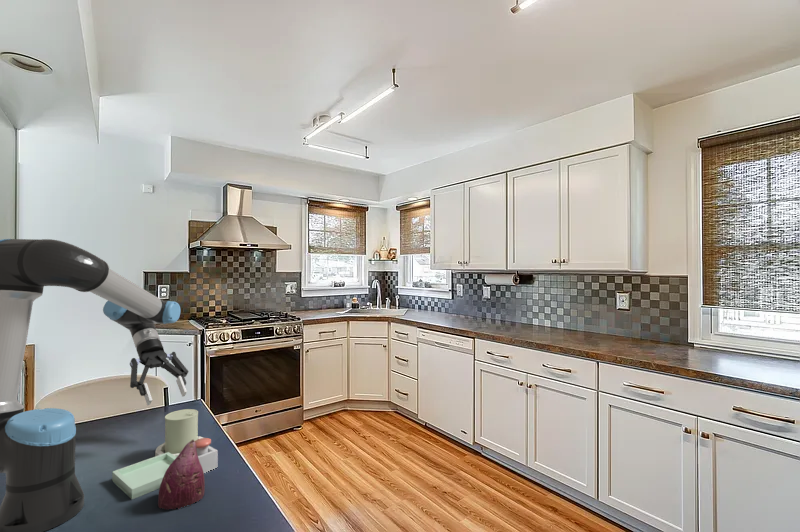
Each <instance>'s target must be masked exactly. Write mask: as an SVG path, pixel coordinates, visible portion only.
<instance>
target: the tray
mask: <svg viewBox="0 0 800 532" xmlns="http://www.w3.org/2000/svg"><path fill="white" fill-rule="evenodd" d="M163 453H164V454H161V455H158V456H156V457H155V456H153V457H150V458H147V459H144V460H142V461H139V462H136V463H132V464H131V465H127V466H124V467H121V468H118V469H116V470H113V471H112V472H111V482H113V484H114V485H116V486H117V487H118V488H119V489H120V490H121V491H122V492H123V493H124V494H125V495H127V497H128V498H130V499H131V500H134V499H137V498H140V497H142V496H144V495H147V494H149V493H152V492H154V491H157V490H159V489H160V485H161V482H162V479H163V477H164V474H165V472H166V471H167V469H168V467H169V466H170V465H171V463H172V462H173V461H174V460H175V459H176V458H177V457H176V456H174V455H173V454H171V453H169V452H167V453H165V452H163Z"/></svg>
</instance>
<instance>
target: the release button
mask: <svg viewBox="0 0 800 532" xmlns="http://www.w3.org/2000/svg"><path fill="white" fill-rule="evenodd" d="M194 442H195V444H196V449H197V455H198V456H200V455H203V454H205V453H208V445H209V446H210V445H212V439H211V438H208V437H203V438H201V439H198V440H196V441H194Z"/></svg>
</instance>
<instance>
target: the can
mask: <svg viewBox="0 0 800 532" xmlns="http://www.w3.org/2000/svg"><path fill="white" fill-rule="evenodd" d="M198 425H199V411H198V410H197V409H193V408H192V409H191V408H186V409H185V408H184V409H179V410H175V411H171V412H169V413H167V414H166V415H165V416H164V443H165V451H164V453H167V452H169V453H171V454H177V453H180V452H181V451H182V450H183V448H184V447H185V446H186V444H187V443H189V442H190V441H191V440H193V439H194V441H196V440H198V435H199V434H198V433H199V432H198V430H199V427H198Z"/></svg>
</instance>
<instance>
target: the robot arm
mask: <svg viewBox="0 0 800 532" xmlns="http://www.w3.org/2000/svg"><path fill="white" fill-rule="evenodd" d="M44 287H64V288H71V289H73V290H76V291H78V292H81V293H88V292H90V293H92V294H94V295H96V296H98V297H100V298H102V299H103V300H106V302H105V303H104V306H103V307H102V308H103V309H102V313H103V315H105V317H107V318H108V319H109V320H111V321H113V322H115V323H117V324H118V325H120V326H122V327H124V328H126V330H129V332H130V334H131V337H132V338H131V339H132V340H133V345H134V346H135V349H136V352H137V356H138V357H139V358H135V357H133V358H131V360H130V362H129V366H130V369H131V370H130V372H131V373H130V385H129V387H130V388H131V389H134V388H136V389H137V390H138V392H139V395H140V396H141V397H144V400H145V403H146V405H147V406H150V405H151V404H152V402H153V398H152V395H151V392H150V388H149V386H148V383H147V382H145V379H146V377H147V375H148V371H149V369H154V368H161V369H164V370H166V372H168V373H170V374H171V375H172V376H173V377H175V378H176V384H177V387H178V390H179V392H180V394H181V397H185V396H186V395H187V393H188V390H187V388H186V385H187V381H186V377H187V376H188V374H189V370H188V368H187V367H186V365H184V363H182V361H181V360H180V358H179V357H178V356H177V353H176V351H172V352H171V353H167V352H166V351H165V350H164V346H163V343H162V341H161V339H160V336H159V333H158V330H157V329H156V328H157V327H156V325H157V324H159V325H160V324H162V325H163V324H164V325H166V324H174V323H177V321H178V320H179V319H180V315H181V306H180V303H178V302H176V301H172V300H171V301H170V300H162V299H161V298H159V297H157V295H154V294H153V293H151V292H149V291H147V290H146V289H144V288H142V287H141V286H140V285H137V284H136V283H134V282H133V281H130V280H129V279H128V278H125V277H124V276H123V275H120V274H119V273H117V272H116V271H114V270H112V269H110V265H109V264H108V263H107V261H105V260H103V259H102V258H101V257H98V256H96V254H95V255H94V254H93V253H91V252H89V251H88V250H85V249H83V248H81V247H79V246H77V245H74V244H72V243H69V242H65V241H62V240H57V239H49V238H47V239H46V238H45V239H43V238H42V239H34V238H33V239H31V238H29V239H27V238H26V239H23V238H5V239H4V238H3V239H0V474H5V493H4V494H5V495H4V497H3V498H2V501H1V503H0V532H46V531H49V530H51V529H53V528H56V527H59V526H61V525H62V524H64V523H66V522H68V521H70V520H71V519H72V518H74V517H75V516H76V515H77V514H79V513H80V512H81V510H82V509H83V507H84V506H85V493H84V490H83V488H82V487H81V484H80V481H79V479H78V477H77V475H76V442H77V440H76V439H77V438H76V437H77V436H76V434H77V427H76V422H75V421H76V419H75V416H74V414H73V413H72V412H71V411H70V410H66V409H62V408H56V407H50V408H49V407H47V408H37V409H35V408H34V409H30V410H26V411H25V405H24V404H22V403H21V402H19V400H18V395H19V388H20V383H21V377H22V372H23V365H24V358H25V352H26V345H27V340H28V335H29V329H30V323H31V316H32V310H33V304H34V301H35V300H37V299H39V298H40V297H42V296H43V292H44ZM155 324H156V325H155ZM139 364H141V365H143V366H144V367H143V370H142V373H141V375H140V378H139V381H138V366H139Z"/></svg>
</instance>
